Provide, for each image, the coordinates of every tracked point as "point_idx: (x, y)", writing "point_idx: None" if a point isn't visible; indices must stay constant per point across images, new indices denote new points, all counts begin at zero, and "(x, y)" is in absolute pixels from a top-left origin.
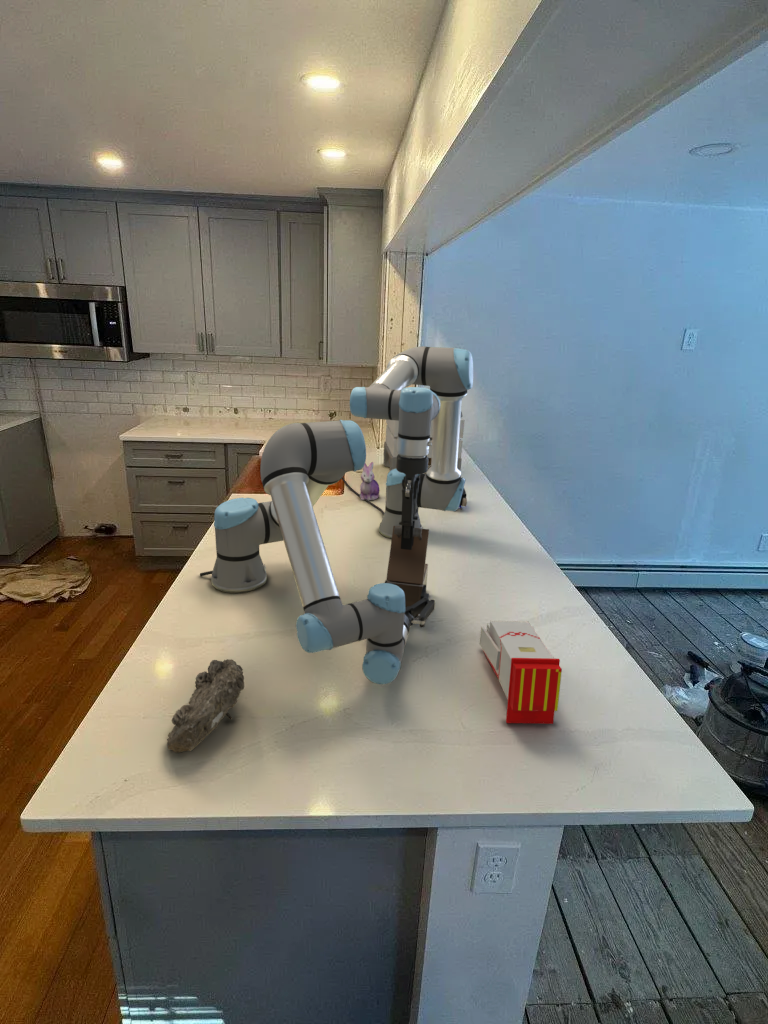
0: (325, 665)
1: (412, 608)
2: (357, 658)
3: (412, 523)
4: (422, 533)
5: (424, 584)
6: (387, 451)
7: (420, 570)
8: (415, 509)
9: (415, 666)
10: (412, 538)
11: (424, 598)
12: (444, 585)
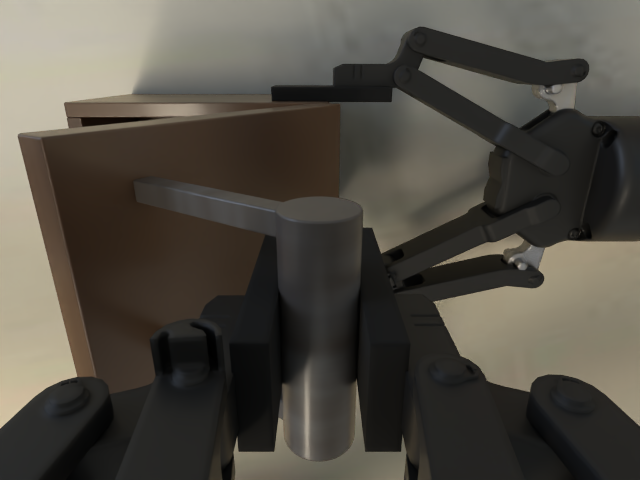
0: (626, 315)
1: (511, 124)
2: (594, 247)
3: (472, 376)
4: (101, 187)
5: (224, 99)
6: None
7: (300, 129)
8: (65, 451)
9: (637, 73)
10: (361, 263)
11: (408, 81)
12: (36, 18)
